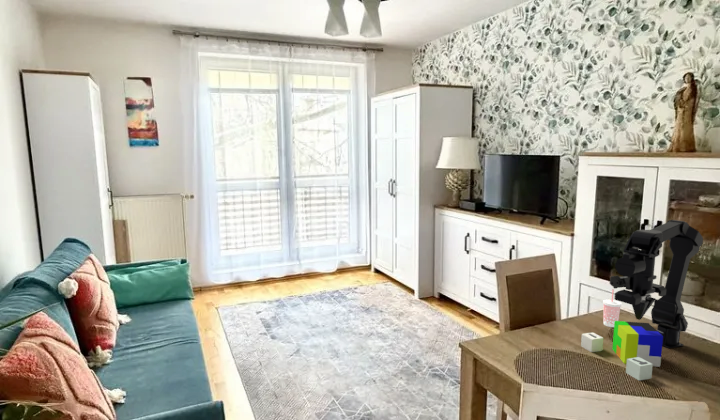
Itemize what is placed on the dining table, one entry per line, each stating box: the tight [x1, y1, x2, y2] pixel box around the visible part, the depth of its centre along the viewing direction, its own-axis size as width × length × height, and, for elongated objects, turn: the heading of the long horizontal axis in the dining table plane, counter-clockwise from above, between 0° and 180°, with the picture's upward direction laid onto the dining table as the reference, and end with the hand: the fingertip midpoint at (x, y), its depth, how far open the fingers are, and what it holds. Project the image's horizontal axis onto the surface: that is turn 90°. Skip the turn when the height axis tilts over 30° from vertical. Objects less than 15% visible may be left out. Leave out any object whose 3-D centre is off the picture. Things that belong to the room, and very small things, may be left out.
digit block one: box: [580, 332, 604, 353], centre depth 143 cm, size 4×4×5 cm
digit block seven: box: [625, 357, 654, 381], centre depth 126 cm, size 4×4×5 cm
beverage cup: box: [602, 288, 623, 328], centre depth 161 cm, size 6×6×14 cm
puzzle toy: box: [611, 320, 663, 368], centre depth 136 cm, size 10×10×10 cm
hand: (638, 319), depth 135 cm, fingers closed
